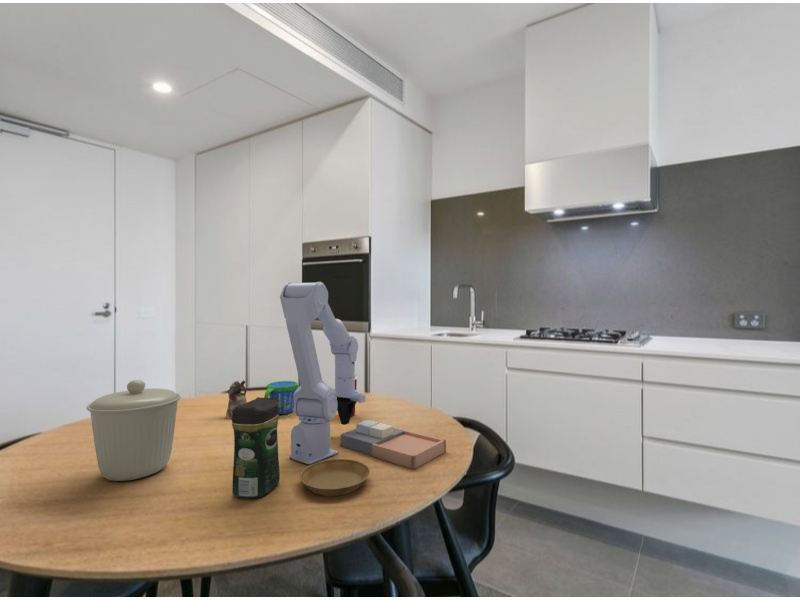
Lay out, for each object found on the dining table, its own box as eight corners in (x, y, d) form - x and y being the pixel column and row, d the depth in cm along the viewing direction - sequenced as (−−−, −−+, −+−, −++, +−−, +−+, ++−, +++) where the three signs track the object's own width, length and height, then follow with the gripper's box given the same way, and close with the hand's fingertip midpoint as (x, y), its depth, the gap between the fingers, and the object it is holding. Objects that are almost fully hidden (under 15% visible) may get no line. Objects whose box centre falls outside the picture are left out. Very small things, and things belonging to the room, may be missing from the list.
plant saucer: (384, 484, 85) (384, 472, 85) (325, 509, 75) (325, 495, 75) (343, 464, 96) (343, 454, 96) (287, 484, 86) (287, 472, 86)
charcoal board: (373, 455, 101) (373, 443, 101) (340, 445, 108) (340, 434, 109) (404, 441, 111) (404, 430, 111) (372, 433, 119) (372, 422, 119)
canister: (102, 462, 97) (102, 376, 98) (186, 452, 104) (185, 371, 104) (71, 496, 81) (71, 391, 81) (173, 481, 87) (173, 384, 87)
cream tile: (382, 438, 105) (382, 430, 105) (369, 435, 108) (369, 427, 108) (393, 434, 108) (393, 426, 108) (380, 431, 111) (380, 423, 111)
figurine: (227, 413, 141) (227, 379, 141) (248, 412, 143) (248, 378, 143) (224, 419, 134) (224, 383, 134) (247, 417, 136) (247, 382, 136)
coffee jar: (252, 478, 89) (251, 393, 89) (285, 481, 87) (284, 395, 87) (224, 499, 79) (224, 404, 79) (260, 502, 77) (260, 406, 78)
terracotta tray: (413, 469, 93) (413, 456, 93) (372, 456, 101) (372, 444, 101) (445, 451, 104) (445, 439, 104) (406, 441, 112) (405, 430, 112)
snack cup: (273, 420, 133) (273, 389, 133) (254, 415, 139) (254, 385, 139) (309, 409, 146) (309, 381, 146) (290, 405, 152) (290, 378, 152)
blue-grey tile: (368, 434, 108) (368, 426, 108) (356, 431, 111) (356, 423, 111) (379, 430, 111) (379, 422, 112) (367, 427, 114) (367, 419, 114)
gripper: (372, 377, 115) (372, 424, 115) (338, 372, 124) (338, 416, 124) (355, 381, 110) (355, 431, 110) (320, 375, 119) (320, 421, 119)
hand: (345, 423), depth 117 cm, fingers closed
